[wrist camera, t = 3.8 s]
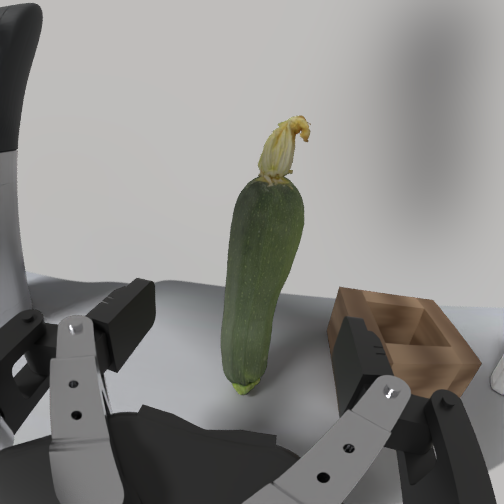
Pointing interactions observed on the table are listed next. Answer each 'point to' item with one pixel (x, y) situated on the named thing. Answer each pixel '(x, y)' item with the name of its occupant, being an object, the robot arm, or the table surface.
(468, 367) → the socket
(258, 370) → the vegetable
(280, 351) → the table surface
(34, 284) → the table surface
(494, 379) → the eye dropper bottle
